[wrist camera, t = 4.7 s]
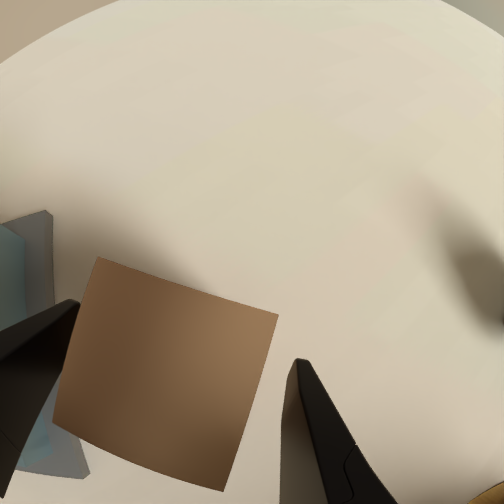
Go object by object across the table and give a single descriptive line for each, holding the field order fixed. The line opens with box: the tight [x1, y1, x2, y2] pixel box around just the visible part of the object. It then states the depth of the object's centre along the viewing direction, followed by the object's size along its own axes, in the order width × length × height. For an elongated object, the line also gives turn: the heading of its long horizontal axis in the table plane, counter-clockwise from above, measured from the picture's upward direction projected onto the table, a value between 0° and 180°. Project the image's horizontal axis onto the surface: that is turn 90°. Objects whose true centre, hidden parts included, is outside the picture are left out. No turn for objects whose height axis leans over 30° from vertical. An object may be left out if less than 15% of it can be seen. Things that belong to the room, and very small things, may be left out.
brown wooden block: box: [52, 257, 278, 492], centre depth 11 cm, size 4×4×10 cm
